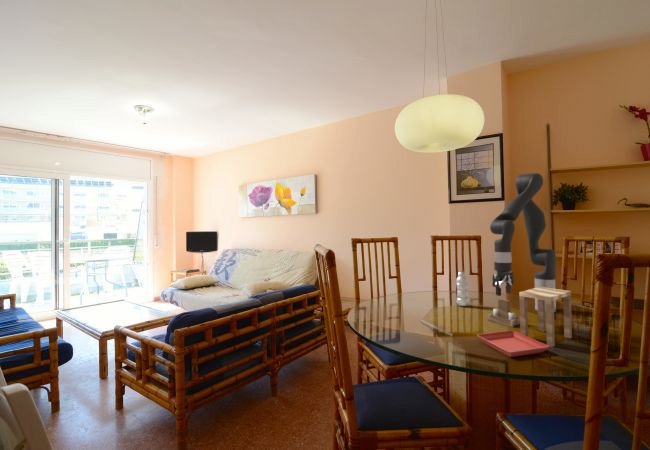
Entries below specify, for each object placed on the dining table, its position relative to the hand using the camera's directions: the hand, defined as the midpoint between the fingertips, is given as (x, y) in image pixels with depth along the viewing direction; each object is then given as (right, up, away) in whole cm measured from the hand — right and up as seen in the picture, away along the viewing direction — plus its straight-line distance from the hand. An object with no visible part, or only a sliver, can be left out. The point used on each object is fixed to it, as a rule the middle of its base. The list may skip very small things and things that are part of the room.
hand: (503, 294), depth 156 cm
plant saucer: (-13, -15, -29) cm, 35 cm away
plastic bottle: (-6, -14, +31) cm, 35 cm away
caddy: (+1, -14, 0) cm, 14 cm away
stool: (+6, -14, -21) cm, 26 cm away
